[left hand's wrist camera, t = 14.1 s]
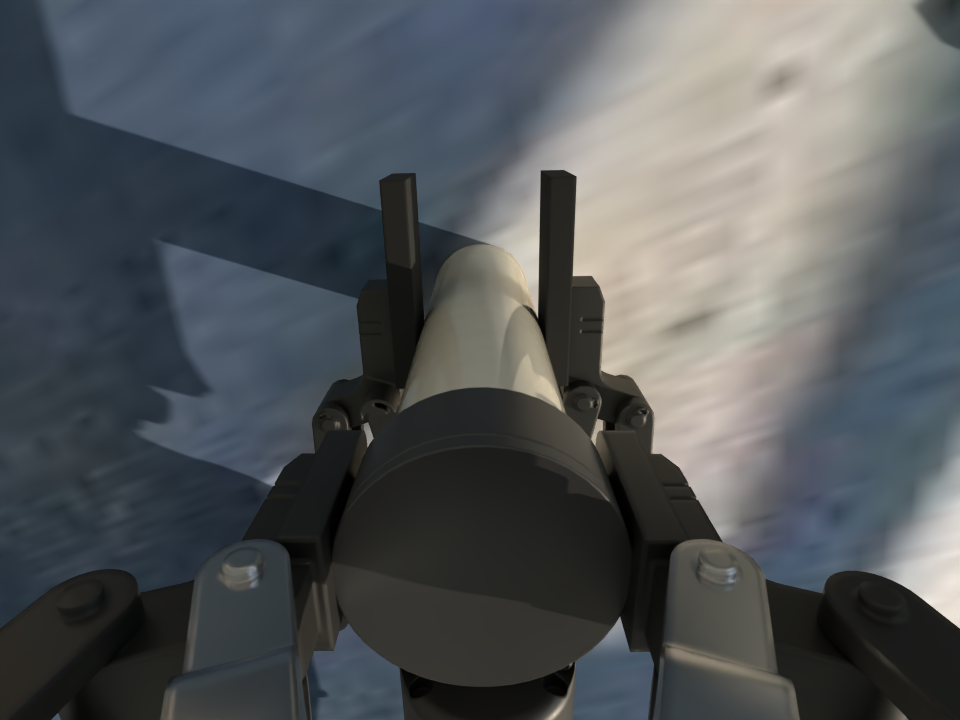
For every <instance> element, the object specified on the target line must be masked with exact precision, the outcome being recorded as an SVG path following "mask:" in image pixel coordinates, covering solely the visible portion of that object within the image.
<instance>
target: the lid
mask: <svg viewBox="0 0 960 720" xmlns="http://www.w3.org/2000/svg"><path fill="white" fill-rule="evenodd" d="M632 555H633V548H632V544H631V540H630V536H629V532H628V530H627V527H626V524H625V522H624V519H623V516H622V513H621V511H620V508H619V505H618V502H617V500H616V497H615V494H614V491H613V489H612V486H611V483H610V480H609V478H608V475H607V472H606V469H605V467H604V464H603V462H602V459H601V457H600V455H599V452H598V450H597V449H596V447H595V445H594V444H593V442H592V441H591V439H590V438H589V436H588V435H587V434H586V433H585V432H584V430H583V429H582V428H581V427H580V426H579V425H578V424H577V423H576V422H575V421H573V420H572V419H571V418H570V417H569V416H568V415H566V414H565V413H563V412H562V411H561V410H559V409H558V408H556V407H555V406H553V405H551V404H549V403H547V402H545V401H543V400H541V399H539V398H536V397H533V396H530V395H527V394H525V393H521V392H517V391H512V390H508V389H501V388H491V387H474V388H463V389H456V390H451V391H447V392H443V393H439V394H436V395H433V396H431V397H428V398H426V399H423V400H421V401H418V402H417V403H415V404H413V405H411V406H410V407H408V408H406V409H404V410H403V411H401V412H400V413H399V414H398V415H396V416H395V417H394V418H392V419H391V420H390V421H389V422H388V423H387V424H386V425H385V426H384V427H383V428H382V429H381V430H380V431H379V432H378V434H377V435H376V436H375V438H374V439H373V440H372V442H371V443H370V445H369V446H368V448H367V450H366V452H365V454H364V456H363V458H362V461H361V464H360V466H359V469H358V472H357V475H356V478H355V480H354V483H353V486H352V489H351V492H350V494H349V497H348V500H347V503H346V506H345V508H344V511H343V514H342V517H341V520H340V522H339V525H338V528H337V531H336V534H335V536H334V539H333V544H332V550H331V558H332V568H333V577H334V585H335V593H336V600H337V603H338V605H339V607H340V609H341V611H342V613H343V615H344V617H345V619H346V620H347V622H348V623H349V624H350V626H351V627H352V629H353V630H354V632H355V633H356V634H357V635H358V636H359V637H360V638H361V639H362V640H363V641H364V642H365V643H366V644H367V645H368V646H369V647H370V648H371V649H373V650H374V651H375V652H376V653H377V654H379V655H380V656H382V657H383V658H385V659H386V660H388V661H389V662H391V663H392V664H394V665H396V666H398V667H400V668H402V669H404V670H406V671H408V672H411V673H413V674H416V675H418V676H421V677H423V678H427V679H431V680H434V681H438V682H442V683H447V684H453V685H460V686H473V687H492V686H503V685H512V684H517V683H521V682H526V681H531V680H534V679H537V678H540V677H543V676H546V675H549V674H551V673H553V672H556V671H558V670H560V669H562V668H564V667H566V666H568V665H570V664H571V663H573V662H575V661H577V660H578V659H580V658H581V657H582V656H584V655H585V654H586V653H588V652H589V651H590V650H592V649H593V648H594V647H595V646H596V645H597V644H598V643H599V642H600V641H601V640H602V639H603V638H604V637H605V636H606V635H607V634H608V632H609V631H610V630H611V629H612V628H613V626H614V625H615V623H616V622H617V620H618V618H619V617H620V615H621V613H622V612H623V609H624V607H625V605H626V602H627V598H628V590H629V582H630V574H631V565H632Z"/></svg>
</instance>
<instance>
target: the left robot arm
mask: <svg viewBox="0 0 960 720" xmlns="http://www.w3.org/2000/svg"><path fill="white" fill-rule="evenodd" d="M596 449H597V450H598V452H599V455H600V457H601V459H602V462H603V464H604V467H605V469H606V472H607V475H608V478H609V480H610V483H611V486H612V489H613V491H614V494H615V497H616V500H617V502H618V505H619V508H620V511H621V513H622V516H623V519H624V522H625V524H626V527H627V530H628V532H629V536H630V540H631V544H632V548H633V555H632V565H631V574H630V582H629V590H628V598H627V602H626V605H625V607H624V609H623V612H622V613H621V615H620V617H621V621H622V624H623V628H624V631H625V635H626V638H627V642H628V645H629V649H630V652H650V653H651V656H652V659H653V662H654V670H653V677H652V683H651V693H650V704H649V714H648V720H905V719H906V717H907V718H908V719H909V720H960V629H959V628H958V627H957V626H956V625H954V624H953V623H952V622H951V621H949V620H948V619H947V618H945V617H944V616H943V615H942V614H940V613H939V612H938V611H937V610H935V609H934V608H933V607H931V606H930V605H929V604H928V603H926V602H925V601H924V600H923V599H921V598H920V597H919V596H917V595H916V594H915V593H913V592H912V591H910V590H909V589H907V588H905V587H904V586H902V585H900V584H898V583H896V582H894V581H892V580H889V579H887V578H884V577H882V576H878V575H875V574H871V573H867V572H860V571H843V572H839V573H835V574H833V575H832V576H830V577H829V578H828V579H827V581H826V583H825V586H824V590H823V594H822V593H818V592H813V591H809V590H805V589H800V588H796V587H791V586H787V585H783V584H779V583H775V582H773V581H770V580H767V579H765V576H764V573H763V571H762V569H761V567H760V566H759V565H758V563H757V562H756V561H755V560H754V559H753V558H752V557H750V556H749V555H748V554H746V553H745V552H743V551H741V550H740V549H738V548H736V547H734V546H732V545H729V544H726V543H723V542H722V540H721V538H720V537H719V535H718V533H717V532H716V530H715V528H714V526H713V525H712V523H711V521H710V520H709V518H708V516H707V514H706V513H705V511H704V509H703V508H702V506H701V504H700V502H699V501H698V500H696V496H695V494H694V492H693V490H692V489H691V487H689V486H688V482H687V480H686V478H685V477H684V475H683V473H682V472H681V470H680V468H679V467H678V466H676V465H675V464H674V463H672V462H671V461H670V460H668V459H667V458H666V457H664V456H663V455H662V454H647V453H646V451H645V449H644V447H643V445H642V443H641V441H640V439H639V437H638V435H637V433H636V432H635V431H599V432H598V434H597V438H596ZM366 450H367V439H366V434H365V431H364V430H329V431H328V432H327V433H326V435H325V437H324V439H323V441H322V443H321V445H320V447H319V449H318V451H317V453H316V454H301V455H299V456H298V457H297V458H295V459H294V460H293V461H292V462H290V463H289V464H288V465H286V466H285V467H284V468H283V470H282V472H281V473H280V475H279V477H278V479H277V480H276V482H275V486H273V487H272V489H271V491H270V492H269V494H268V498H267V499H265V501H264V503H263V505H262V506H261V508H260V510H259V512H258V513H257V515H256V517H255V519H254V520H253V522H252V524H251V526H250V527H249V529H248V531H247V533H246V534H245V536H244V538H243V539H242V541H241V542H237V543H234V544H231V545H228V546H226V547H224V548H222V549H220V550H219V551H217V552H215V553H214V554H212V555H211V556H210V557H208V558H207V559H206V560H205V561H204V562H203V563H202V565H201V566H200V567H199V569H198V571H197V573H196V576H195V580H192V581H189V582H185V583H182V584H178V585H173V586H169V587H164V588H160V589H156V590H151V591H147V592H142V593H140V592H139V588H138V585H137V582H136V579H135V578H134V577H133V576H132V575H131V574H130V573H128V572H126V571H122V570H117V569H104V570H97V571H92V572H88V573H85V574H81V575H78V576H76V577H73V578H71V579H69V580H67V581H65V582H63V583H61V584H59V585H57V586H55V587H54V588H52V589H51V590H49V591H48V592H47V593H45V594H44V595H43V596H41V597H40V598H39V599H37V600H36V601H35V602H34V603H32V604H31V605H30V606H29V607H27V608H26V609H25V610H23V611H22V612H21V613H20V614H18V615H17V616H16V617H15V618H13V619H12V620H11V621H9V622H8V623H7V624H6V625H4V626H3V627H2V628H1V629H0V720H51V719H52V718H53V717H54V716H55V715H56V714H57V713H59V716H60V719H61V720H312V714H311V704H310V693H309V683H308V677H307V671H308V668H309V664H310V661H311V658H312V655H313V652H314V651H334V647H335V644H336V640H337V636H338V633H339V629H340V626H341V622H342V618H343V613H342V611H341V609H340V607H339V605H338V603H337V600H336V593H335V585H334V577H333V568H332V558H331V550H332V544H333V539H334V536H335V534H336V531H337V528H338V525H339V522H340V520H341V517H342V514H343V511H344V508H345V506H346V503H347V500H348V497H349V494H350V492H351V489H352V486H353V483H354V480H355V478H356V475H357V472H358V469H359V466H360V464H361V461H362V458H363V456H364V454H365V452H366Z"/></svg>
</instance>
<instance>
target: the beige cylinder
mask: <svg viewBox="0 0 960 720" xmlns="http://www.w3.org/2000/svg"><path fill="white" fill-rule="evenodd" d="M474 387H491V388H501V389H508V390H512V391H517V392H521V393H525V394H527V395H530V396H533V397H536V398H539V399H541V400H543V401H545V402H547V403H549V404H551V405H553V406H555V407H556V408H558V409H559V410H561V411H562V412H563V413H565V414H566V411H565V408H564V404H563V401H562V398H561V394H560V391H559V388H558V384H557V381H556V378H555V374H554V371H553V368H552V364H551V361H550V358H549V354H548V351H547V347H546V344H545V341H544V337H543V334H542V331H541V327H540V324H539V321H538V317H537V314H536V311H535V307H534V304H533V301H532V297H531V294H530V291H529V287H528V284H527V281H526V277H525V274H524V272H523V269H522V268H521V266H520V264H519V263H518V262H517V260H516V259H515V258H514V257H513V256H512V255H510V254H509V253H508V252H506V251H505V250H503V249H501V248H498V247H496V246H492V245H486V244H476V245H470V246H467V247H464V248H462V249H460V250H458V251H456V252H455V253H453V254H452V255H451V256H450V257H449V258H448V259H447V260H446V261H445V262H444V264H443V265H442V266H441V268H440V270H439V273H438V275H437V278H436V282H435V285H434V289H433V292H432V295H431V299H430V302H429V306H428V309H427V312H426V316H425V319H424V323H423V326H422V330H421V333H420V336H419V340H418V343H417V347H416V350H415V353H414V357H413V360H412V364H411V367H410V370H409V374H408V377H407V381H406V384H405V388H404V391H403V394H402V398H401V401H400V405H399V408H398V411H397V415H398V414H399V413H400V412H401V411H403V410H404V409H406V408H408V407H410V406H411V405H413V404H415V403H417V402H418V401H421V400H423V399H426V398H428V397H431V396H433V395H436V394H439V393H443V392H447V391H451V390H456V389H463V388H474ZM566 415H567V414H566Z"/></svg>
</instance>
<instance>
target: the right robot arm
mask: <svg viewBox="0 0 960 720" xmlns="http://www.w3.org/2000/svg"><path fill="white" fill-rule="evenodd" d="M379 183H380V196H381V208H382V220H383V233H384V245H385V258H386V270H387V280H369V281H368V282H367V284H366V285H365V287H364V288H363V289H362V291H361V294H360V297H359V300H358V303H357V314H358V322H359V334H360V344H361V354H362V364H363V375H362V376H360V377H358V378H355V379H352V380H346V379H343V380H338V381H336V382H335V383H333V384H332V386H331V387H330V389H329V391H328V392H327V394H326V396H325V397H324V399H323V401H322V403H321V404H320V406H319V408H318V410H317V411H316V413H315V415H314V417H313V420H312V428H313V437H314V446H315V454H316V453H317V451H318V449H319V447H320V445H321V443H322V441H323V439H324V437H325V435H326V433H327V432H328V431H329V430H364V425H363V424H364V423H367V422H368V423H369V426H370V428H371V431H372V434H373V437H374V438H375V436H376V435H377V434H378V432H379V431H380V430H381V429H382V428H383V427H384V426H385V425H386V424H387V423H388V422H389V421H390V420H391V419H392V418H394V417H395V416H396V415H397V411H398V408H399V405H400V401H401V398H402V394H403V391H404V388H405V384H406V381H407V377H408V374H409V370H410V367H411V364H412V360H413V357H414V353H415V350H416V347H417V343H418V340H419V336H420V333H421V330H422V326H423V323H424V310H423V293H422V276H421V259H420V241H419V224H418V207H417V190H416V173H401V174H391V175H389V176H387V177H385V178H383V179H382V180H380V181H379ZM575 202H576V176H574V175H572V174H570V173H569V172H567V171H565V170H544V171H541V191H540V246H539V300H538V321H539V324H540V327H541V331H542V334H543V337H544V341H545V344H546V347H547V351H548V354H549V358H550V361H551V364H552V368H553V371H554V374H555V378H556V381H557V384H558V388H559V391H560V394H561V398H562V401H563V404H564V408H565V411H566V414H567V415H568V416H569V417H570V418H571V419H572V420H573V421H575V422H576V423H577V424H578V425H579V426H580V427H581V428H582V429H583V430H584V432H585V433H586V434H587V435H588V436H589V438H590V439H591V438H592V434H593V431H594V428H595V424H596V421H597V419H600V420H603V431H635V432H636V433H637V435H638V437H639V439H640V441H641V443H642V445H643V447H644V449H645V451H646V453H647V454H652V448H653V433H654V413H653V411H652V409H651V408H650V406H649V404H648V403H647V401H646V399H645V398H644V396H643V394H642V393H641V391H640V389H639V388H638V386H637V385H636V383H635V382H634V380H633V379H632V378H631V377H629V376H627V375H618V376H613V375H610V374H607V373H605V372H603V371H601V356H602V340H603V324H604V320H603V319H604V308H605V301H604V298H603V295H602V292H601V290H600V287H599V285H598V284H597V283H596V281H595V280H594V279H593V277H592V276H573V252H574V227H575ZM347 625H348V622H347V620H346V619H345V617H344V615H343V618H342V622H341V626H340V629H339V631H341V630H343V629H344V628H345V627H346V626H347ZM575 674H576V661H575V662H573V663H571V664H570V665H568V666H566V667H564V668H562V669H560V670H558V671H556V672H553V673H551V674H549V675H546V676H543V677H540V678H537V679H534V680H531V681H526V682H521V683H517V684H512V685H503V686H492V687H473V686H460V685H453V684H447V683H442V682H438V681H434V680H431V679H427V678H423V677H421V676H418V675H416V674H413V673H411V672H408V671H406V670H404V669H402V668H400V677H401V687H402V697H403V708H404V718H405V720H573V710H574V692H575Z"/></svg>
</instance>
